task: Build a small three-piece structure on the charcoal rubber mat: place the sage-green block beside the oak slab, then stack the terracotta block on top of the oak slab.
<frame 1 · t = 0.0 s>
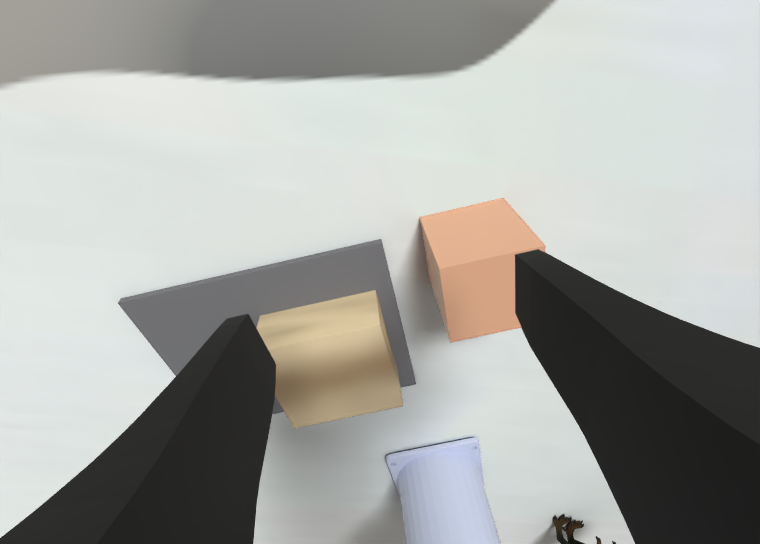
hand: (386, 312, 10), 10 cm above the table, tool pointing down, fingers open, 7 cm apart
oak slab: (333, 344, 24), resting on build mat
toy: (555, 523, 44), on the table
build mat: (286, 344, 24), on the table
terracotta cube: (464, 242, 21), on the table
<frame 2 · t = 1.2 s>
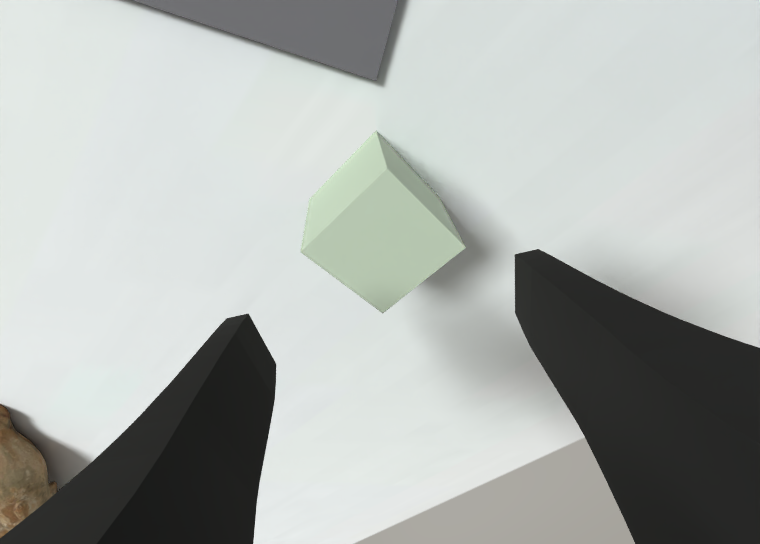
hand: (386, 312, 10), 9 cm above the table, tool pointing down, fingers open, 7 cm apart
sage cube: (375, 197, 19), on the table
figurine: (62, 507, 33), on the table
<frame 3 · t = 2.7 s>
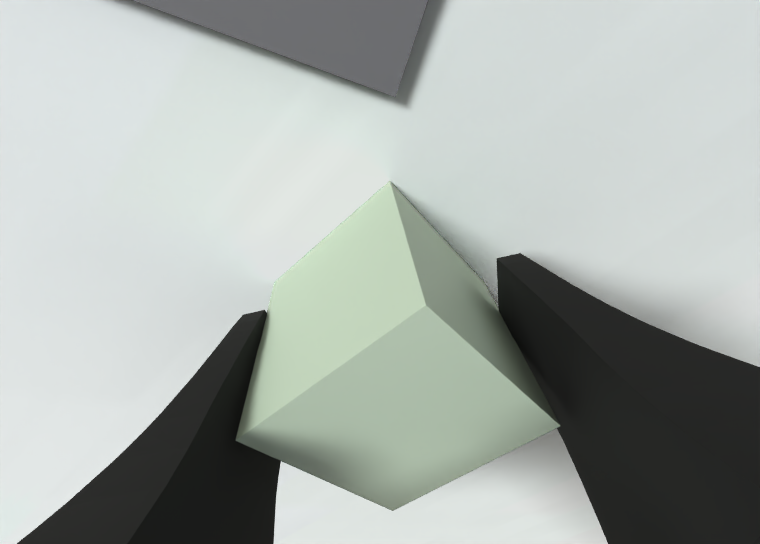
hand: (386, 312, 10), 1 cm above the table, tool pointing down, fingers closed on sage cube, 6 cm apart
sage cube: (382, 282, 11), on the table, touching gripper
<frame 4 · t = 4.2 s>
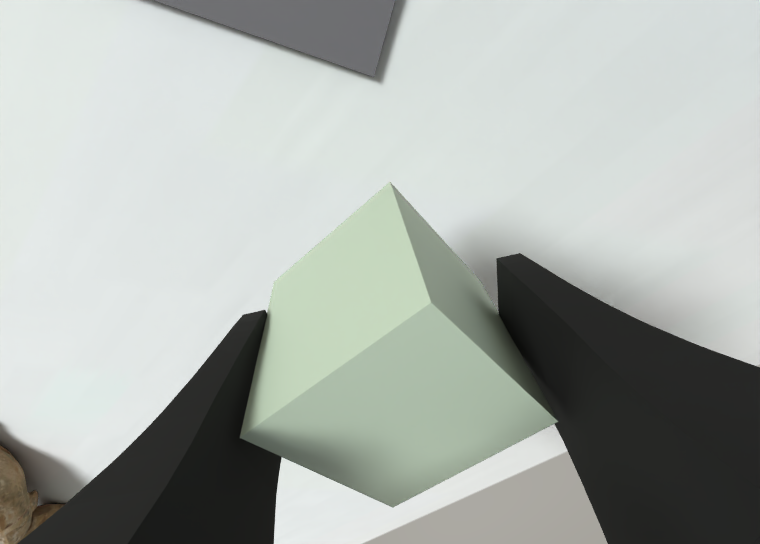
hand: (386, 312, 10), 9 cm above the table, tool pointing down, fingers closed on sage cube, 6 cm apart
sage cube: (381, 281, 12), point 7 cm above the table, touching gripper
figurine: (48, 516, 32), on the table
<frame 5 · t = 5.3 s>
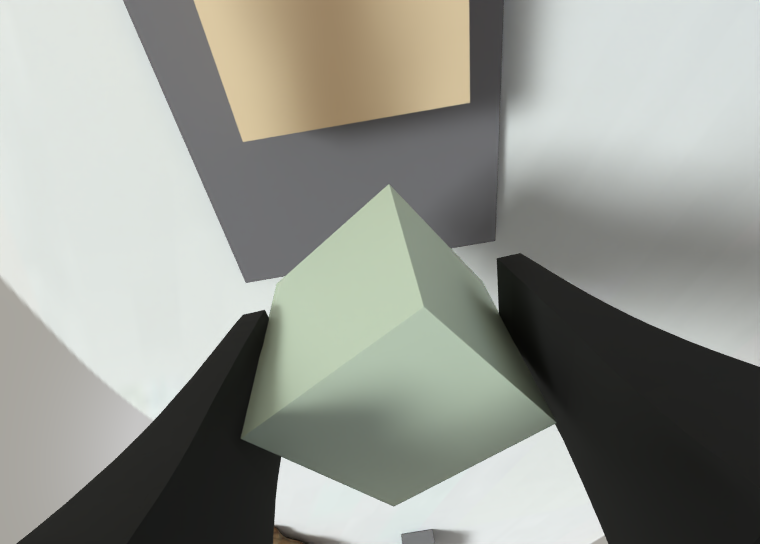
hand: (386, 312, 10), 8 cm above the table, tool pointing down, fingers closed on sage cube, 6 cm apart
sage cube: (382, 282, 12), point 6 cm above the table, touching gripper
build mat: (337, 88, 14), on the table
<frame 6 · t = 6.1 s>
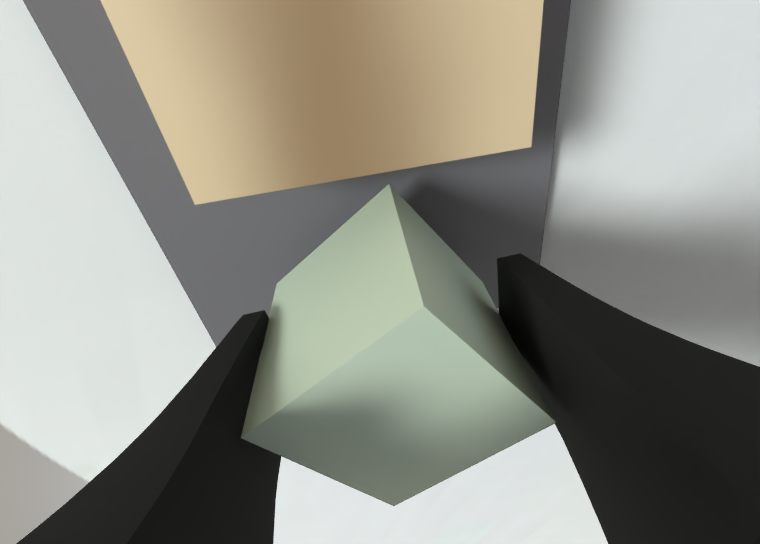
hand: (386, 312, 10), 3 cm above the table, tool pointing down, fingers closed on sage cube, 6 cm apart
sage cube: (382, 282, 12), point 2 cm above the table, touching gripper
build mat: (335, 117, 10), on the table
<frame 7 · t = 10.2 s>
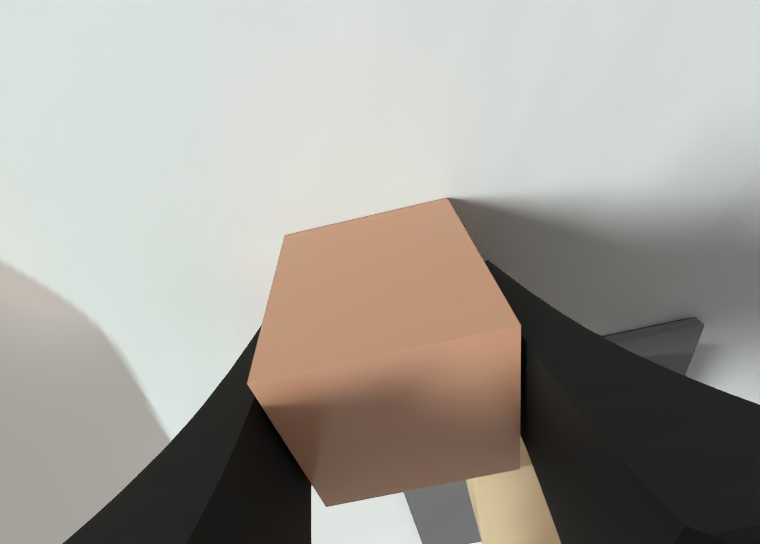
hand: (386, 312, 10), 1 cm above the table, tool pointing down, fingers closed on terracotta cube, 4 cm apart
oak slab: (542, 429, 16), resting on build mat
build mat: (525, 459, 18), on the table
terracotta cube: (382, 282, 11), on the table, touching gripper
when the fingers open (6 cm above the table, at t = 13.4 s): terracotta cube stays where it is, resting on oak slab.
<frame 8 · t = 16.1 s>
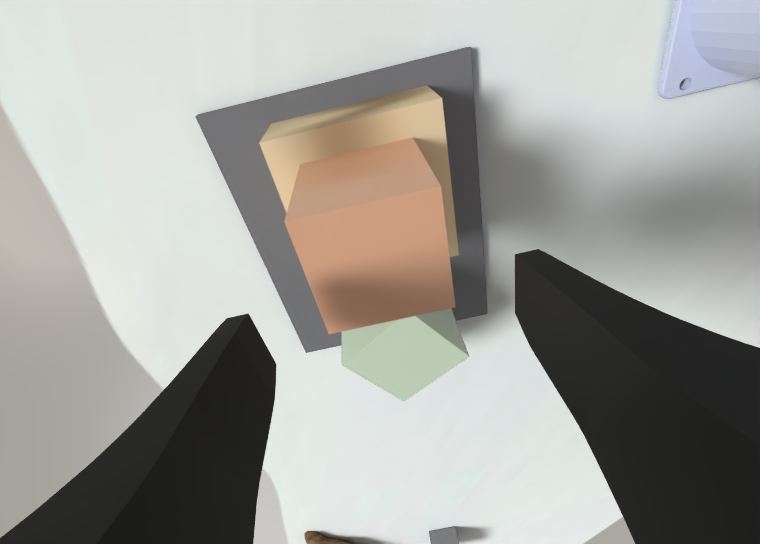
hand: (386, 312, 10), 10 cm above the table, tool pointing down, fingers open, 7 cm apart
oak slab: (366, 179, 18), resting on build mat, touching terracotta cube
sage cube: (394, 298, 23), resting on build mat
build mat: (369, 230, 21), on the table
terracotta cube: (368, 203, 16), point 3 cm above the table, touching oak slab
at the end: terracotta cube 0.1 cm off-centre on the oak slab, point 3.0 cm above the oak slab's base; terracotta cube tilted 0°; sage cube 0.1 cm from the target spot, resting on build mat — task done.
